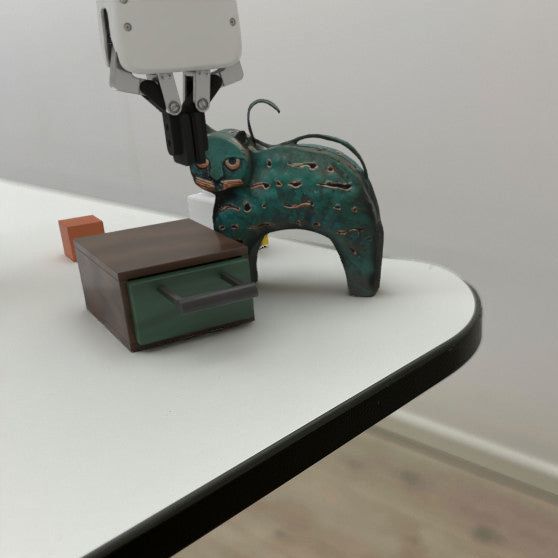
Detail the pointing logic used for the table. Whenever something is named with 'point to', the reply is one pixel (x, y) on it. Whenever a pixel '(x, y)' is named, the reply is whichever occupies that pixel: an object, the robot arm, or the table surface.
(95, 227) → the block
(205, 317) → the drawer
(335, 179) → the ceramic cat
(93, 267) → the cabinet
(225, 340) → the table surface
